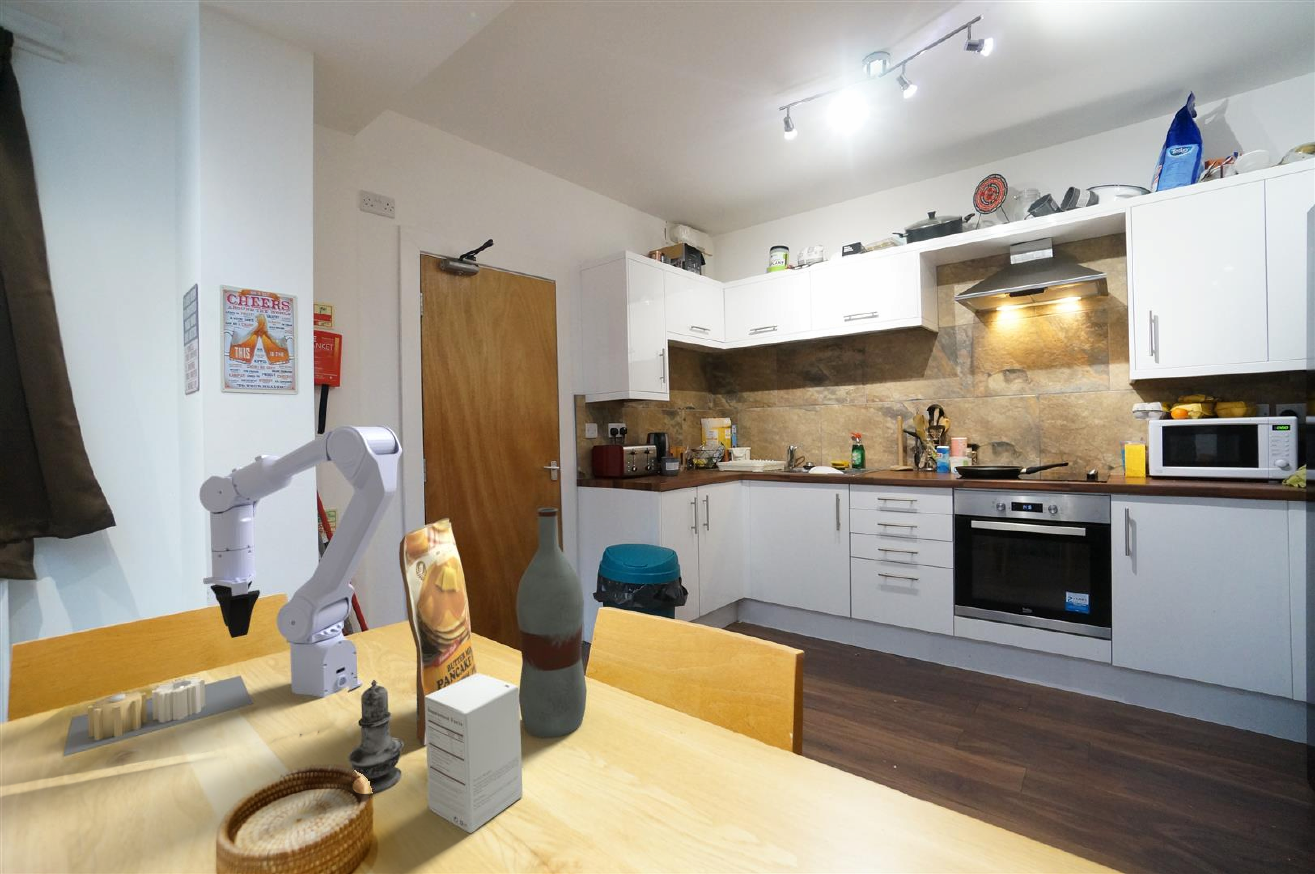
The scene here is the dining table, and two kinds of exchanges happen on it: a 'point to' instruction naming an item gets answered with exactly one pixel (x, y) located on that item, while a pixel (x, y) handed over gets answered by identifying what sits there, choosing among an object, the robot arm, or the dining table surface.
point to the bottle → (551, 638)
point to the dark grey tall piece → (377, 742)
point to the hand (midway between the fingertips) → (236, 630)
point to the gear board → (144, 715)
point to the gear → (178, 699)
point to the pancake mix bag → (436, 611)
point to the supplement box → (473, 750)
